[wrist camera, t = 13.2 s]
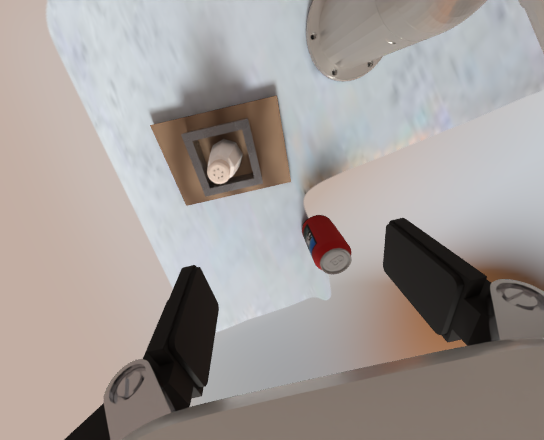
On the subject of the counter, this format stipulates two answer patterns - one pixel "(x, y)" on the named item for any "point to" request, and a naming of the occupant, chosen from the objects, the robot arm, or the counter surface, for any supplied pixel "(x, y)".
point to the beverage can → (326, 245)
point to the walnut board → (263, 132)
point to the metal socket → (201, 165)
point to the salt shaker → (223, 161)
